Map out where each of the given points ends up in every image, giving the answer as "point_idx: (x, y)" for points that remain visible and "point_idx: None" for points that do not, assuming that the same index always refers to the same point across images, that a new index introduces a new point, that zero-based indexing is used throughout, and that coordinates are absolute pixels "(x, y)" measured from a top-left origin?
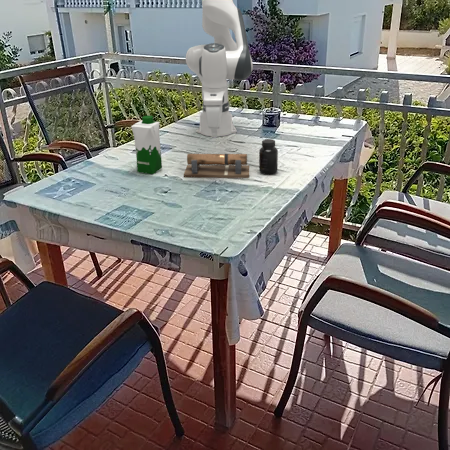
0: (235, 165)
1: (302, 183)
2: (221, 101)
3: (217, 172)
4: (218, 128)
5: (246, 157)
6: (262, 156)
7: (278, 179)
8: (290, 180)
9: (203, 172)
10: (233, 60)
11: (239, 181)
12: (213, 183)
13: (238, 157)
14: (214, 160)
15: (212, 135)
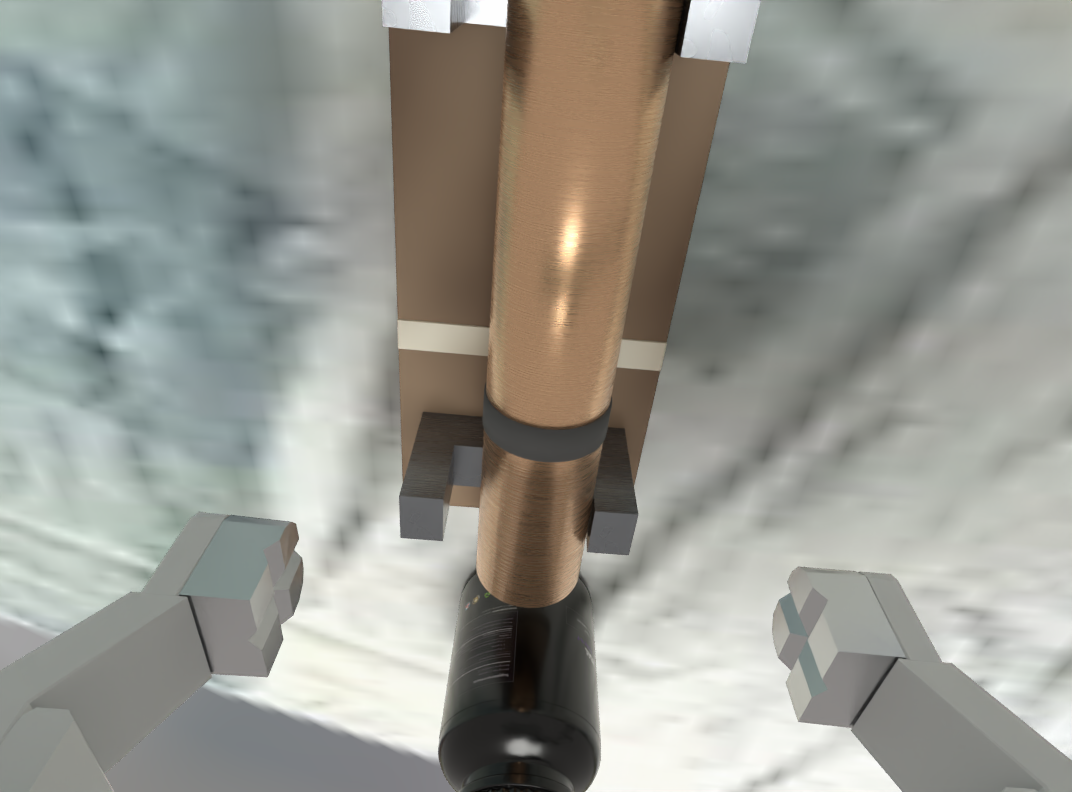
0: (408, 466)
1: (336, 711)
2: None
3: (468, 257)
4: (777, 636)
5: (485, 587)
6: (462, 693)
7: (389, 630)
8: (377, 675)
9: (470, 96)
10: None
11: (328, 419)
12: (248, 202)
13: (490, 530)
14: (492, 282)
15: (178, 548)
